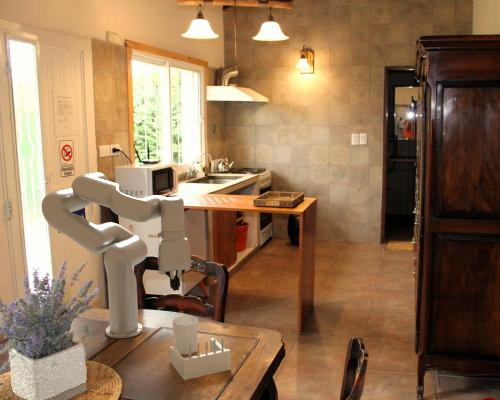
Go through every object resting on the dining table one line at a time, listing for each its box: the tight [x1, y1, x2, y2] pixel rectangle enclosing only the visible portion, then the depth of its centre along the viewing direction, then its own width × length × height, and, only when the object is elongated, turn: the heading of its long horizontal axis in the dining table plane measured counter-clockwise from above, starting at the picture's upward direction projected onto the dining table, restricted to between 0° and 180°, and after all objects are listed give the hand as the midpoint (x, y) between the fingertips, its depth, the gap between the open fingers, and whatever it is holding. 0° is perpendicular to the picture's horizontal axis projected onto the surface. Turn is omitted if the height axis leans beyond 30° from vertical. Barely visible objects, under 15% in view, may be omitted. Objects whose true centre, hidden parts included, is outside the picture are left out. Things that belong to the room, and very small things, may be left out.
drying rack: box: [169, 337, 232, 381], centre depth 162 cm, size 13×14×10 cm
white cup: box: [172, 315, 199, 355], centre depth 173 cm, size 8×8×10 cm
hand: (175, 289), depth 180 cm, fingers closed
